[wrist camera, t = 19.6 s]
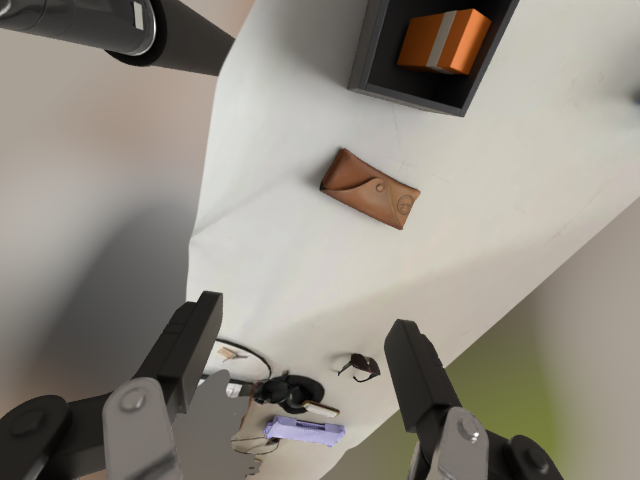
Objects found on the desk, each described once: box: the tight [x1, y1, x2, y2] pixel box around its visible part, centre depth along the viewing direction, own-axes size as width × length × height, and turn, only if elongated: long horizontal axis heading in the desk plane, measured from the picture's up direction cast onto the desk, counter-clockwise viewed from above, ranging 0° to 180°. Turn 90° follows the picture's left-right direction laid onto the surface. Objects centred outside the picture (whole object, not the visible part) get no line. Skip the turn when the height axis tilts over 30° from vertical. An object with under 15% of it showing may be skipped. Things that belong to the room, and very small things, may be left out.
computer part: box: [264, 415, 345, 447], centre depth 94 cm, size 30×4×15 cm
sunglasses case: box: [320, 148, 420, 230], centre depth 44 cm, size 18×7×7 cm
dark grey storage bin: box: [347, 0, 519, 117], centre depth 30 cm, size 14×14×11 cm
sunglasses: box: [338, 354, 380, 382], centre depth 73 cm, size 11×12×5 cm
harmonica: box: [302, 400, 340, 418], centre depth 87 cm, size 15×3×2 cm, turn 55°
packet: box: [397, 8, 492, 75], centre depth 30 cm, size 4×5×9 cm
